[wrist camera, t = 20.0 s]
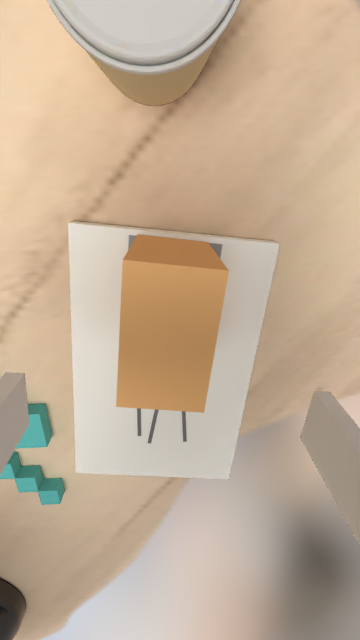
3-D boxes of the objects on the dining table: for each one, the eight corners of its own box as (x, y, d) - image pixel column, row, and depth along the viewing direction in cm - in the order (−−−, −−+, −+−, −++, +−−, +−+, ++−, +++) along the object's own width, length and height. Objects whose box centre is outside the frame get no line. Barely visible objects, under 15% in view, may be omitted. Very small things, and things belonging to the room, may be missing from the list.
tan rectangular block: (193, 345, 31) (204, 412, 22) (131, 340, 31) (116, 406, 22) (208, 242, 27) (229, 270, 18) (137, 234, 27) (122, 259, 18)
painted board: (226, 469, 40) (228, 480, 38) (79, 462, 39) (75, 473, 37) (274, 241, 29) (280, 244, 28) (73, 220, 28) (68, 222, 26)
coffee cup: (216, -46, 22) (268, -286, 11) (216, 116, 25) (255, 63, 14) (77, -41, 22) (-18, -280, 10) (97, 121, 25) (42, 71, 14)
